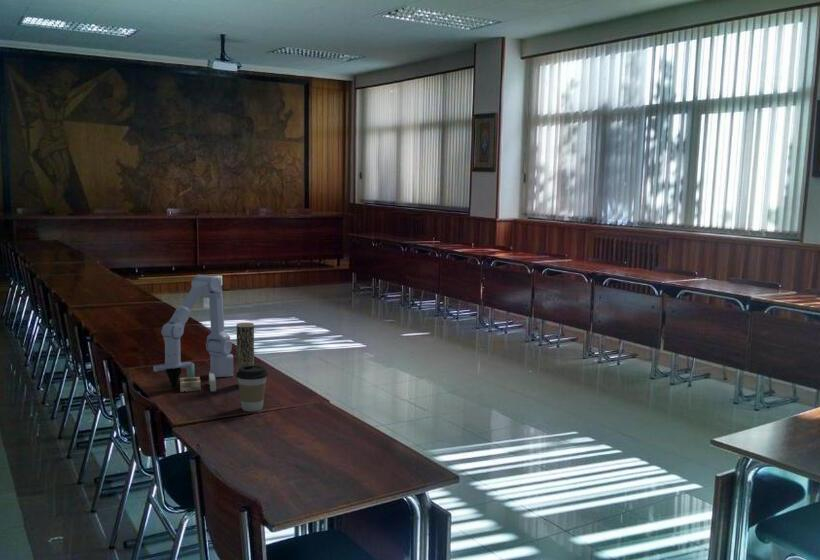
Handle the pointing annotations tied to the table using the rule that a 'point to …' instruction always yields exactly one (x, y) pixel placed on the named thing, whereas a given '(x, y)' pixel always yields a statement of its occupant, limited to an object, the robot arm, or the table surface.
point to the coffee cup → (252, 387)
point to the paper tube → (245, 345)
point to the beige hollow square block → (190, 384)
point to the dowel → (190, 371)
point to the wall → (212, 382)
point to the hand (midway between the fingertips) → (173, 387)
